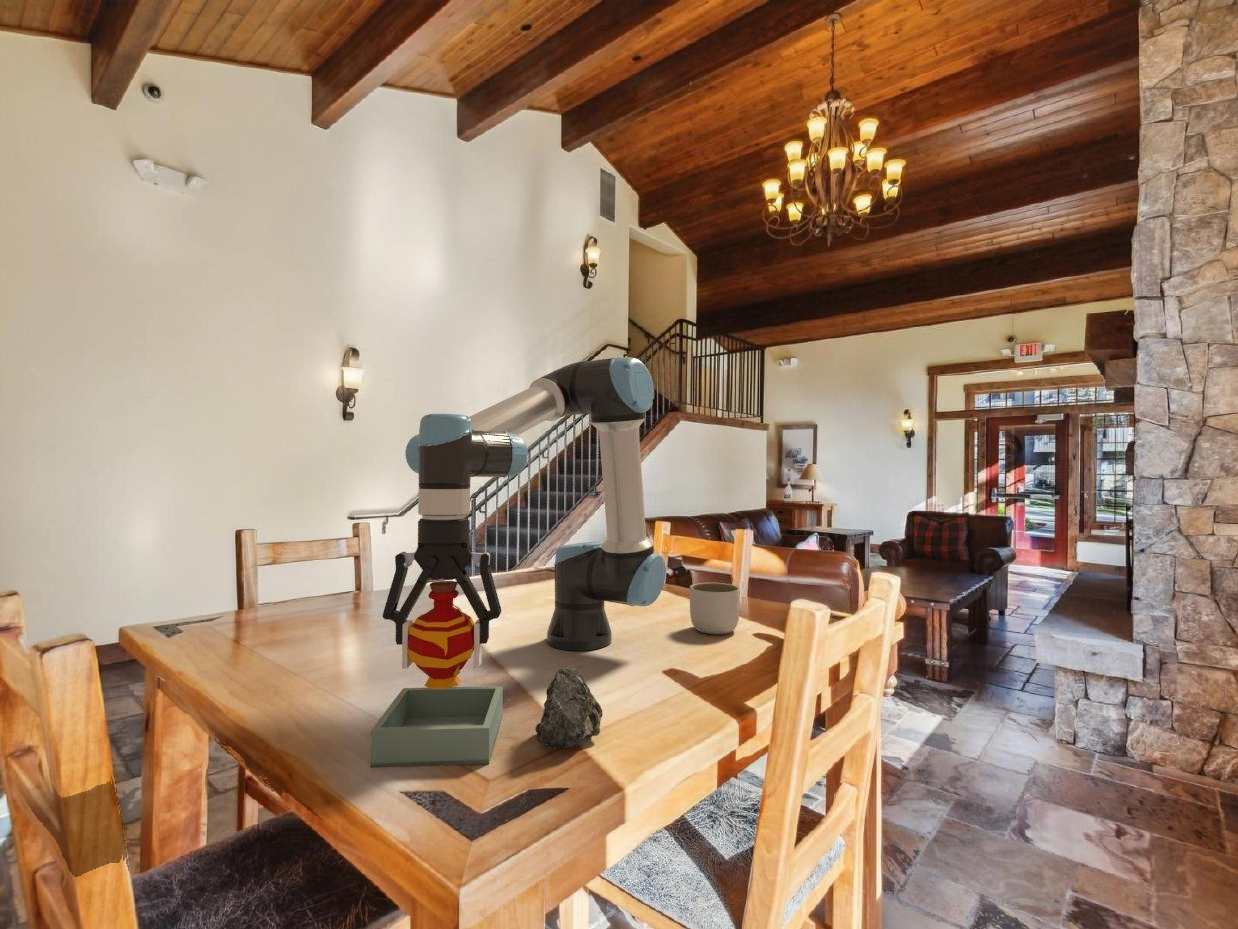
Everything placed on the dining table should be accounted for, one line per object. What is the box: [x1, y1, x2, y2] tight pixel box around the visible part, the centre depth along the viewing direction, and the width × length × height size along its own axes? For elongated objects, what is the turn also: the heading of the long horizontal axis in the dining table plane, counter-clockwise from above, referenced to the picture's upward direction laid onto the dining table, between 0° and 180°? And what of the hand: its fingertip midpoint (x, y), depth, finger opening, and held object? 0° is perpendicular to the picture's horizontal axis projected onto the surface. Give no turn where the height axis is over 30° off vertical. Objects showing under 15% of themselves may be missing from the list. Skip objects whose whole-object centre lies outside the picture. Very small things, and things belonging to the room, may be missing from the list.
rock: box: [535, 666, 603, 750], centre depth 93 cm, size 12×10×10 cm
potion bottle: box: [407, 580, 475, 689], centre depth 92 cm, size 10×10×15 cm
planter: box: [689, 582, 741, 636], centre depth 154 cm, size 12×12×11 cm
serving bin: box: [369, 685, 504, 768], centre depth 92 cm, size 16×16×5 cm
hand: (442, 665), depth 92 cm, fingers closed on potion bottle, 10 cm apart
